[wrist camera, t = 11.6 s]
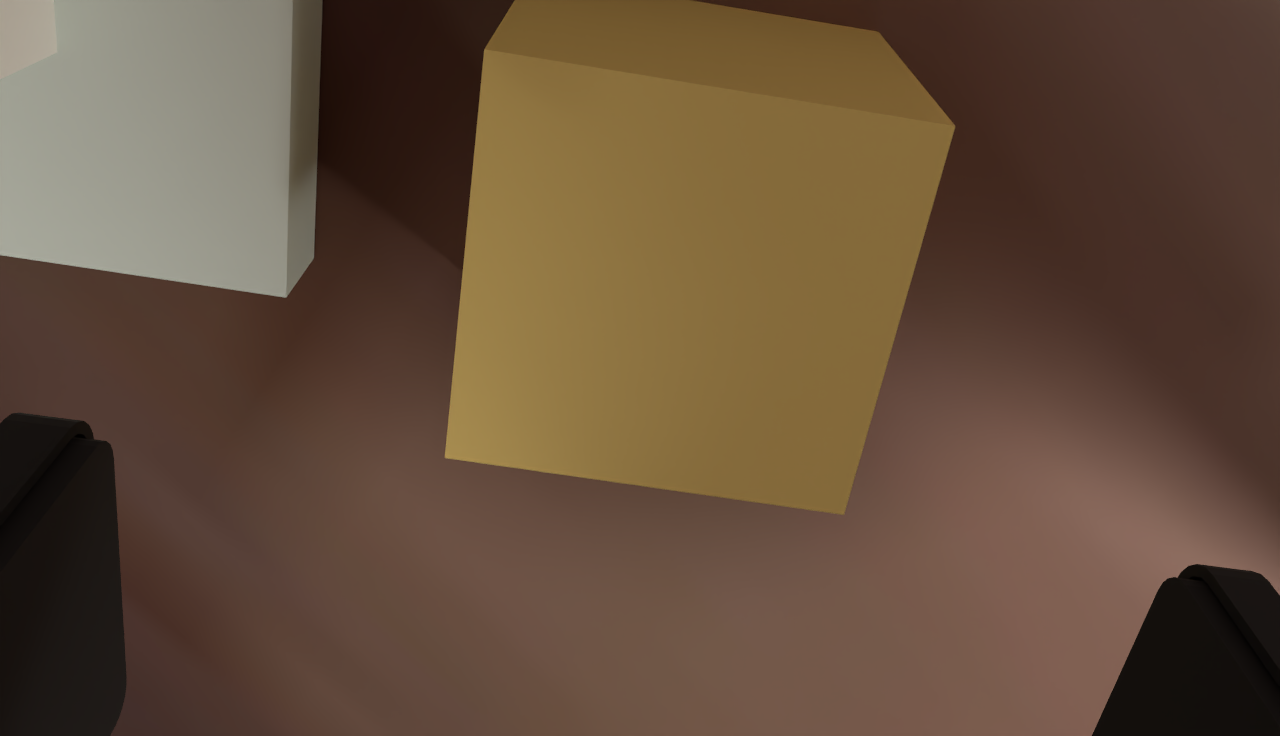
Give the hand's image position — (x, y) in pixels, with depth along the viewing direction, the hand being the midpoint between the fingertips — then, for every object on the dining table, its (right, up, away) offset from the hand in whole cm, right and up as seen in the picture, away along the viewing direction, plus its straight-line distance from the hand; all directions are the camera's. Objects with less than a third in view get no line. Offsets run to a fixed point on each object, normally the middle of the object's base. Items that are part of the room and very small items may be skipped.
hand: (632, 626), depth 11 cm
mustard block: (+1, +6, +13) cm, 14 cm away
